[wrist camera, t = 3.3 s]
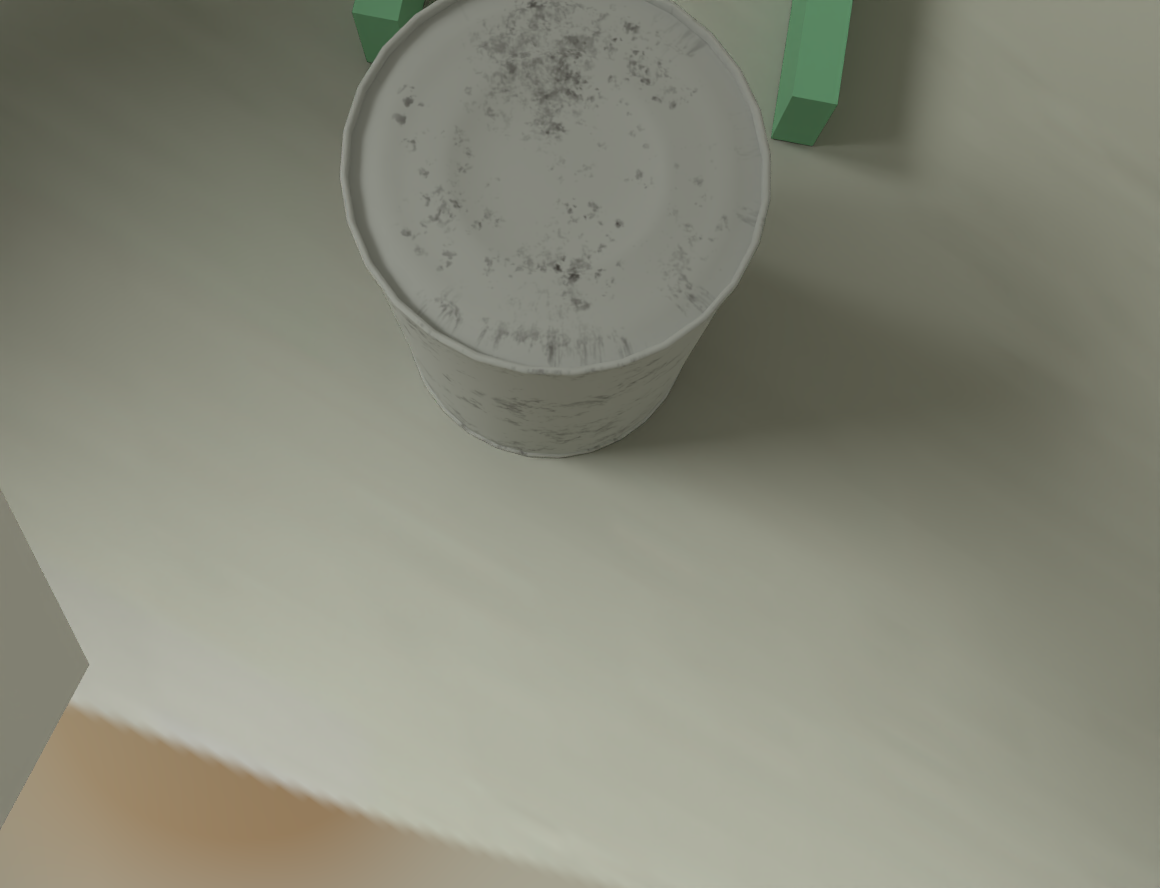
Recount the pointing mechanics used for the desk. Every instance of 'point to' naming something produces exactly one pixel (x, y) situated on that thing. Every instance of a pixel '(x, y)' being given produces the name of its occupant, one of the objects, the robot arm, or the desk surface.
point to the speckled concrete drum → (554, 207)
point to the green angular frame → (804, 74)
